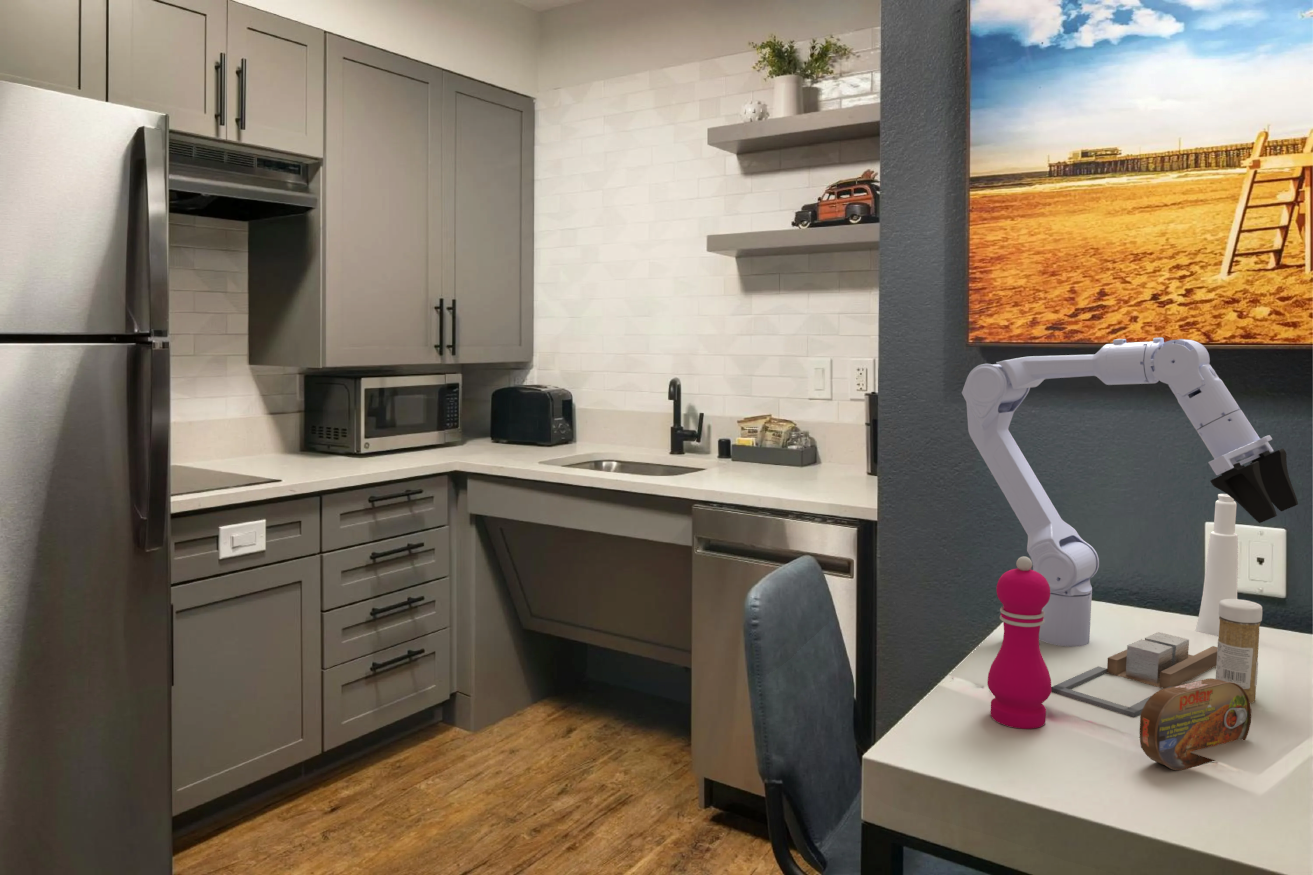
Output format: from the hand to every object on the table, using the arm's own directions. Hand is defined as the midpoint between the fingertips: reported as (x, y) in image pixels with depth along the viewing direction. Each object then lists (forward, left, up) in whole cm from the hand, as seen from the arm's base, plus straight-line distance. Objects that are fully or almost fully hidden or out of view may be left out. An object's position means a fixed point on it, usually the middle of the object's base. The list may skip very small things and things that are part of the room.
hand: (1279, 513), depth 120 cm
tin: (+2, -27, -24) cm, 36 cm away
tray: (-11, -18, -24) cm, 32 cm away
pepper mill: (-16, -32, -24) cm, 43 cm away
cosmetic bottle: (-14, +21, -24) cm, 34 cm away
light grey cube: (-11, -9, -22) cm, 26 cm away
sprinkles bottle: (-1, -8, -24) cm, 25 cm away
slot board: (-11, -4, -24) cm, 26 cm away
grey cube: (-11, -4, -22) cm, 25 cm away
